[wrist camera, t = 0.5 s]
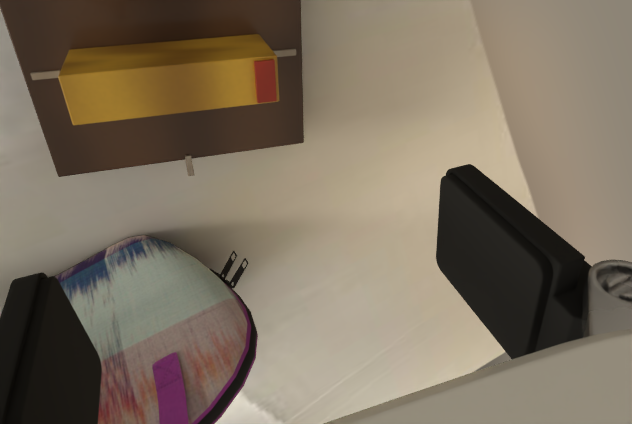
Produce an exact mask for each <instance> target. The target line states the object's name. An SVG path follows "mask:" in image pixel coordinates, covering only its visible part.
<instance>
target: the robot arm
mask: <svg viewBox="0 0 632 424" xmlns="http://www.w3.org/2000/svg"><path fill="white" fill-rule="evenodd" d="M584 259H585V257H584V256H583V255H582V254H581V253H580V252H579V251H577V250H576V249H575V248H573V247H572V246H571V245H570V244H569V243H568V242H566V241H565V240H564V239H563V238H561V237H560V236H559V235H558V234H556V233H555V232H554V231H553V230H552V229H550V228H549V227H548V226H547V225H545V224H544V223H543V222H542V221H541V220H539V219H538V218H537V217H536V216H534V215H533V214H532V213H531V212H530V211H528V210H527V209H526V208H525V207H523V206H522V205H521V204H520V203H519V202H517V201H516V200H515V199H514V198H512V197H511V196H510V195H509V194H508V193H506V192H505V191H504V190H503V189H501V188H500V187H499V186H498V185H497V184H495V183H494V182H493V181H492V180H490V179H489V178H488V177H487V176H485V175H484V174H483V173H482V172H481V171H479V170H478V169H477V168H476V167H474V166H473V165H471V164H468V165H464V166H460V167H456V168H452V169H449V170H448V171H447V173H446V176H444V177H442V179H441V185H440V201H439V218H438V235H437V251H436V260H437V264H438V266H439V268H440V270H441V271H442V273H443V274H444V275H445V276H446V278H447V279H448V280H449V281H450V283H451V284H452V285H453V286H454V288H455V289H456V290H457V291H458V293H459V294H460V295H461V296H462V297H463V299H464V300H465V301H466V302H467V304H468V305H469V306H470V307H471V309H472V310H473V311H474V312H475V314H476V315H477V316H478V317H479V319H480V320H481V321H482V322H483V324H484V325H485V326H486V327H487V329H488V330H489V331H490V332H491V334H492V335H493V336H494V337H495V339H496V340H497V341H498V342H499V344H500V345H501V346H502V347H503V349H504V350H505V351H506V352H507V354H508V355H509V356H510V357H511V359H512V360H509V361H506V362H503V363H500V364H497V365H494V366H491V367H488V368H485V369H482V370H479V371H476V372H473V373H470V374H467V375H464V376H461V377H458V378H455V379H453V380H450V381H447V382H444V383H441V384H438V385H435V386H432V387H429V388H426V389H423V390H420V391H417V392H414V393H411V394H408V395H405V396H402V397H399V398H397V399H394V400H391V401H388V402H385V403H382V404H379V405H376V406H373V407H370V408H367V409H365V410H362V411H359V412H356V413H353V414H350V415H347V416H344V417H341V418H338V419H336V420H333V421H330V422H327V423H324V424H632V262H628V261H623V260H606V261H601V262H599V263H597V264H595V265H593V266H590V265H589V264H588V263H587V262H586V261H584ZM101 374H102V366H101V360H100V357H99V355H98V353H97V351H96V349H95V347H94V345H93V343H92V342H91V340H90V338H89V336H88V334H87V332H86V331H85V329H84V327H83V325H82V323H81V321H80V320H79V318H78V316H77V314H76V312H75V310H74V308H73V307H72V305H71V303H70V301H69V299H68V297H67V296H66V294H65V292H64V290H63V288H62V286H61V285H60V283H59V281H58V279H57V278H56V277H54V276H52V277H49V278H48V277H47V275H45V274H44V273H38V274H34V275H30V276H26V277H22V278H18V279H15V280H13V281H12V283H11V286H10V289H9V292H8V295H7V298H6V302H5V305H4V308H3V311H2V314H1V317H0V424H98V415H99V401H100V387H101Z"/></svg>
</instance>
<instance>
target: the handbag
mask: <svg viewBox="0 0 632 424" xmlns="http://www.w3.org/2000/svg"><path fill="white" fill-rule="evenodd" d="M233 253H235V252H234V251H233ZM233 253H232V254H233ZM232 254H231V256H232ZM235 255H236V253H235ZM231 256H230V258H229V260H228V261H227V263H226V265H225V267H224V269H223V270H222V272H221V274H219V273H217V272H215V271H213V270H212V269H208V268H207V267H206V266H205V265H203V264H202V263H201V262H200V261H199V260H197V259H196V258H194V257H193V256H191V255H189V254H188V253H186V252H184V251H183V250H181V249H180V248H178V247H176V246H175V245H173V244H171V243H169V242H166V241H163V240H159V239H156V238H152V237H149V236H145V235H142V236H136V237H130V238H127V239H125V240H123V241H120V242H118V243H116V244H114V245H112V246H110V247H108V248H107V249H105V250H103V251H101V252H99V253H97V254H96V255H94V256H92V257H90V258H88V259H86V260H85V261H83V262H81V263H79V264H77V265H75V266H74V267H72V268H70V269H68V270H66V271H64V272H62V273H60V274H58V275H56V276H55V277H56V278H57V279H58V281H59V283H60V285H61V286H62V288H63V290H64V292H65V294H66V296H67V297H68V299H69V301H70V303H71V305H72V307H73V308H74V310H75V312H76V314H77V316H78V318H79V320H80V321H81V323H82V325H83V327H84V329H85V331H86V332H87V334H88V336H89V338H90V340H91V342H92V343H93V345H94V347H95V349H96V351H97V353H98V355H99V357H100V360H101V366H102V374H101V387H100V401H99V415H98V424H215V423H216V421H217V420H218V419H219V418H220V417H221V416H222V415H223V414H224V412H225V411H226V409H227V408H228V407H229V405H230V404H231V402H232V401H233V400H234V398H235V397H236V396H237V394H238V393H239V391H240V390H241V389H242V387H243V386H244V384H245V381H246V379H247V377H248V375H249V372H250V370H251V368H252V365H253V363H254V361H255V358H256V347H257V337H258V335H257V330H256V327H255V324H254V321H253V318H252V315H251V312H250V310H249V309H248V307H247V306H246V305H245V303H244V302H243V300H242V299H241V298H240V296H239V295H238V294H237V293H236V292H235V291H234V290H233V289H232V288H234V287H235V286H236V284H237V282H238V280H239V279H240V277H241V275H242V274H243V272H244V270H245V268H246V267H247V265H248V261H247V260H246V258H245V259H244V260H243V262H244V261H245V260H246V262H247V265H246V267H245V268H243V267H242V264H243V262H242V264H241V265H240V267H239V268H238V270H237V272H236V273H235V275H234V277H233V278H232V280H231V281H230V282H229V281H227V280H225V278H226V276H227V274H228V272H229V270H230V268H231V266H232V265H233V263H234V261H235V259H236V257H237V255H236V257H235V259H234V261H232V259H231ZM222 274H224V277H222ZM232 282H234V285H233V287H232V285H231V284H232Z"/></svg>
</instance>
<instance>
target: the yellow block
mask: <svg viewBox="0 0 632 424" xmlns="http://www.w3.org/2000/svg"><path fill="white" fill-rule="evenodd" d="M58 78H59V82H60V85H61V88H62V91H63V95H64V98H65V101H66V104H67V108H68V111H69V114H70V118H71V121H72V124H73V125H82V124H91V123H99V122H108V121H116V120H125V119H134V118H142V117H151V116H159V115H168V114H176V113H185V112H193V111H202V110H211V109H219V108H228V107H236V106H245V105H253V104H262V103H270V102H278V101H279V84H278V64H277V55H276V54H275V53H274V52H273V51H272V49H271V48H270V47H269V46H268V45H267V43H266V42H265V41H264V40H263V39H262V37H261V36H260V35H259V34H253V35H241V36H229V37H217V38H205V39H192V40H180V41H168V42H156V43H144V44H132V45H119V46H107V47H95V48H83V49H71V50H69V52H68V54H67V57H66V59H65V61H64V64H63V66H62V69H61V71H60V73H59V76H58Z"/></svg>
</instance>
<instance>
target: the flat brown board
mask: <svg viewBox="0 0 632 424" xmlns="http://www.w3.org/2000/svg"><path fill="white" fill-rule="evenodd" d="M0 9H1V12H2V15H3V17H4V20H5V23H6V26H7V29H8V32H9V35H10V38H11V41H12V43H13V46H14V49H15V52H16V55H17V58H18V61H19V64H20V67H21V70H22V72H23V75H24V78H25V81H26V84H27V87H28V90H29V93H30V96H31V98H32V101H33V104H34V107H35V110H36V113H37V116H38V119H39V122H40V125H41V127H42V130H43V133H44V136H45V139H46V142H47V145H48V148H49V151H50V154H51V156H52V159H53V162H54V165H55V168H56V171H57V174H58V176H59V177H61V176H69V175H76V174H83V173H90V172H97V171H104V170H112V169H119V168H126V167H133V166H140V165H147V164H155V163H162V162H169V161H176V160H183V159H186V165H187V171H188V176H193V175H194V171H193V165H192V159H191V158H198V157H205V156H212V155H219V154H226V153H233V152H241V151H248V150H255V149H262V148H269V147H276V146H284V145H291V144H298V143H303V142H304V131H303V88H302V45H301V2H300V0H0ZM253 34H259V35H260V36H261V37H262V39H263V40H264V41H265V42H266V43H267V45H268V46H269V47H270V48H271V49H272V51H273V52H274V53H275V54H276V55H277V64H278V84H279V101H278V102H270V103H262V104H253V105H245V106H236V107H228V108H219V109H211V110H202V111H193V112H185V113H176V114H168V115H159V116H151V117H142V118H134V119H125V120H116V121H108V122H99V123H91V124H82V125H73V124H72V121H71V118H70V114H69V111H68V108H67V104H66V101H65V98H64V95H63V91H62V88H61V85H60V82H59V78H58V76H59V73H60V71H61V69H62V66H63V64H64V61H65V59H66V57H67V54H68V52H69V50H71V49H83V48H95V47H107V46H119V45H132V44H144V43H156V42H168V41H180V40H192V39H205V38H217V37H229V36H241V35H253Z"/></svg>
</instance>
